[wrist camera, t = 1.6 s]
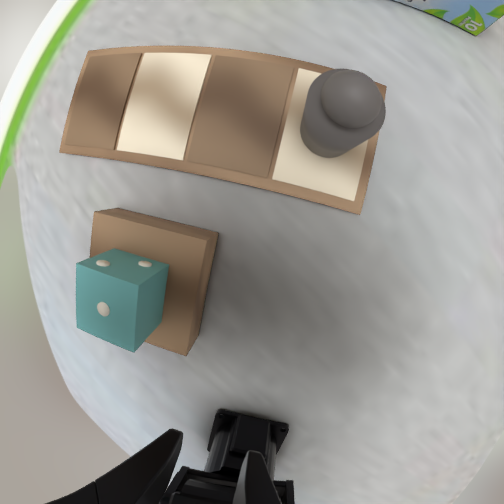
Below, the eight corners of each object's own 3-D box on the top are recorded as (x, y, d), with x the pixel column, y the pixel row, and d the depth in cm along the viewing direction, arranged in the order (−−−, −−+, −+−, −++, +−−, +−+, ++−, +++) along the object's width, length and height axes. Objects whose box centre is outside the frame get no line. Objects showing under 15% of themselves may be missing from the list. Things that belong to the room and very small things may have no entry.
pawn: (348, 164, 17) (394, 147, 9) (294, 149, 17) (301, 118, 9) (358, 114, 16) (406, 67, 8) (306, 99, 16) (319, 39, 8)
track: (357, 213, 18) (360, 215, 17) (65, 153, 19) (57, 152, 18) (382, 89, 16) (387, 85, 15) (93, 53, 17) (86, 50, 16)
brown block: (198, 335, 21) (186, 356, 18) (108, 304, 22) (88, 318, 19) (218, 232, 19) (206, 240, 16) (117, 207, 20) (94, 211, 17)
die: (161, 322, 18) (133, 353, 14) (109, 303, 18) (75, 327, 14) (169, 263, 17) (138, 284, 13) (113, 246, 17) (74, 262, 13)
